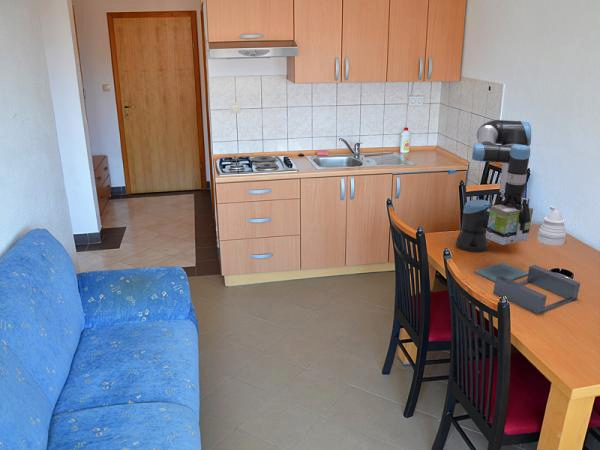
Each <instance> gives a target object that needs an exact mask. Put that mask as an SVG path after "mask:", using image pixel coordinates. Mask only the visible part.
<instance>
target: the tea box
mask: <svg viewBox="0 0 600 450" xmlns="http://www.w3.org/2000/svg"><path fill="white" fill-rule="evenodd" d="M493 205H494V204H493ZM520 212H523V207H522V210H517V209H516V208H515V207H514V206H513V205H511V204H508V205H494V206H491V209H490V215H489V221H488V227H487V229H486V238H487V240H489V241H492V242H495V243H496V244H499V245H502V246H504V245H508V244H513V243H519V242H524V241H528V239H529V235H530V227H531V223H532V217H533V212H534V208H533V207H531V206H529V213H530V222H528V223H525V228H524V230H523V231H522V237H519V238H516V233H517V227H518V223H519V222H520V220H519V213H520Z"/></svg>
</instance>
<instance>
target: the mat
mask: <svg viewBox="0 0 600 450" xmlns="http://www.w3.org/2000/svg"><path fill="white" fill-rule="evenodd" d="M473 273H474V274H476V275H478V276H479V277H483V278H484V279H486V280H487V279H488V280H489V281H492V282H493V283H495V279H496V277H499V276H503V277H506V278H508V279H510V280H512V281H515V280H519V279H522V278H524V277H528V273H529V272H527V271H524V270H522V269H520V268H517V267H515V266H512V265H510V264H507V263H505V262H503V261H502V262H500V263H496V264H493V265H489V266H486V267H483V268H480V269H477V270H474V271H473Z"/></svg>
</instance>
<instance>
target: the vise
mask: <svg viewBox="0 0 600 450" xmlns="http://www.w3.org/2000/svg"><path fill="white" fill-rule="evenodd" d="M527 273H528V276H527V279H525V280H522V281H519V282H516V281H515V280H513V281H512V280H510V279H508V278H506V277H503V276H499V277H496V279H495V282H494V287H493V292H492V293H493V294H494V295H496V296H497V297H501V296H506V297H507V299H508V300H507V301H509V302H510V303H513V304H515V305H517V306H519V307H521V308H523V309H525V310H528V311H529V312H531V313H534V314H535V315H541V314H544V313H546V312H548V311H551V310H553V309H556V308H558V307H560V306H563V305H565V304H568V303H571V302H573V301H576V300H577V299H578V296H579V291H580V286H581V282H578V281H576V280H575V279H573V278H570V277H568V276H567V275H565V274H561V273H559V272H557V271H556V272H553V271H551V270H550V269H549V270H548V269H547V268H543V267H541V266H539V265H536V264H533V265H530V266H529V268H528V272H527ZM528 284H532V285H534V286H536V287H539V288H541V289H543V290H545V291H548V292H550V293H552V294H554V295H556V296H559V297H561V298H564V299H560V300H558V301H556V302H553V303H551V304H547V305H546V302H547V295H546V294H543V293H541V292H539V291H537V290H535V289H533V288H531V287H528V286H527V285H528ZM501 298H502V297H501Z"/></svg>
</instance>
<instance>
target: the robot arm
mask: <svg viewBox="0 0 600 450" xmlns="http://www.w3.org/2000/svg"><path fill="white" fill-rule="evenodd" d="M476 139H477V141H478V142H477V143H474V144H473V145H472V146H473V148H472V154H471V159H472V160H473V161H476V162H485V163H487V162H488V163H499V164H500V163H501V164H502V166H501V175H500V183H499V191H498V192H497V197H496V199H495V200H494V203H493V204H491V202H490V201H489V200H485V199H473V200H469V201H466V202H465V203H464V206H463V210H462V213H463V214H462V222H461V230H460V232H459V234H458V235H457V238H456V239H455V240H456V241H455V246H456V247H457V248H458V249H459V250H463V251H466V252H472V253H482V252H485V251H488V248H489V243H488V239H487V238H486V233H487V227H488V221H489V215H490V209H491V206H494V205H508V204H511V205H513V206H514V207H515V208H516V209H517V210H522V207H523V212H520V213H519V220H520V222H519V223H518V227H517V233H516V238H519V237H522V231H523V230H524V228H525V223H528V222H530V213H529V207H530V205H529V204H530V199H529V198H525V197H524V195H523V194H524V193H525V186H526V185H525V184H526V182H527V176H528V167H529V162H530V157H531V143H532V127H531V123H530V122H528V121H523V120H508V119H507V120H505V119H501V120H500V119H494V120H490V121H486V122H484V123H483V124H482V125H480V127H478V129H477V131H476Z"/></svg>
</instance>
